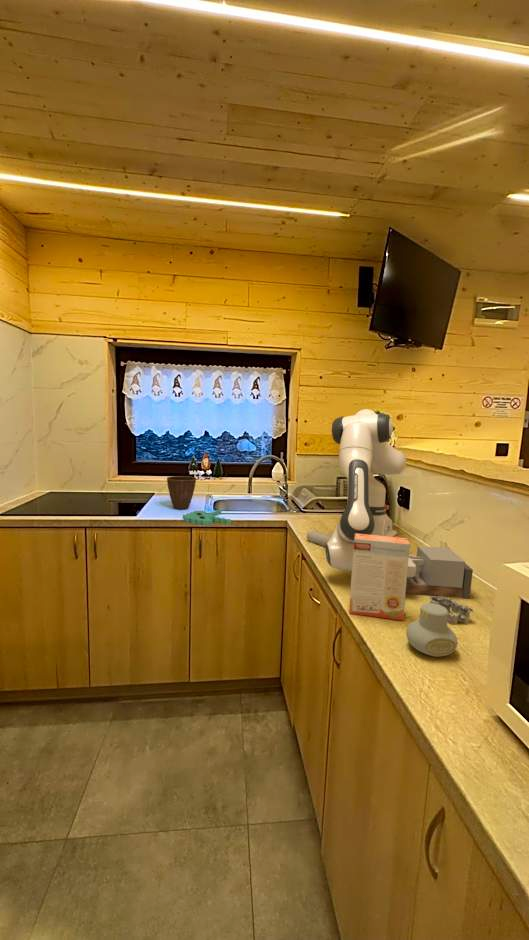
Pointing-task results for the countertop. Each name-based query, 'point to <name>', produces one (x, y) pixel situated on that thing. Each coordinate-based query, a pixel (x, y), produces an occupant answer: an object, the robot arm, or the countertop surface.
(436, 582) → the grey cardboard box
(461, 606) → the egg carton
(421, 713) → the countertop surface
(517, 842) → the countertop surface
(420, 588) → the roller bed
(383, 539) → the cracker box
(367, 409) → the robot arm
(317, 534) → the tube
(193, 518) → the alien figure
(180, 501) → the plant pot
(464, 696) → the countertop surface
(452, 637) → the air freshener
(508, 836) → the countertop surface
